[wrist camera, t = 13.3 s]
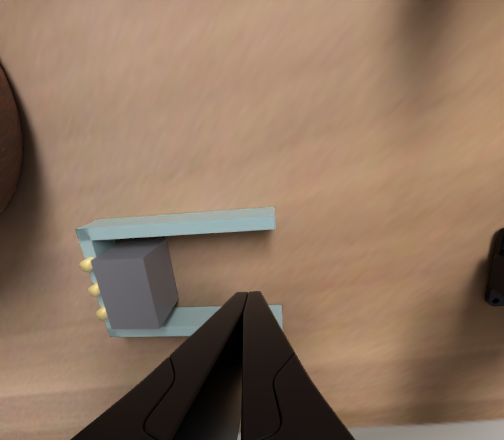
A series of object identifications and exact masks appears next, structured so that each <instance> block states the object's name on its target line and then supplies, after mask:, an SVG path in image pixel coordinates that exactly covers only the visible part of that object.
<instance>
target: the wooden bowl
mask: <svg viewBox="0 0 504 440" xmlns="http://www.w3.org/2000/svg"><path fill="white" fill-rule="evenodd" d="M21 164H22V133H21V126H20V120H19V115H18V111H17V107H16V104H15V101H14V97H13V94H12V92H11V89H10V87H9V84H8V81H7V79H6V77H5V75H4V73H3V70H2V68H1V66H0V213H1V212H2V211H3V210H4V208H5V207H6V206H7V204H8V203H9V201H10V199H11V198H12V196H13V194H14V191H15V189H16V186H17V183H18V180H19V176H20V171H21Z"/></svg>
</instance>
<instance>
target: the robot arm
mask: <svg viewBox="0 0 504 440" xmlns="http://www.w3.org/2000/svg"><path fill="white" fill-rule="evenodd" d="M493 299H494V300H493ZM485 301H486V302H487V303H488V304H490V305H491V306H504V228H503V229H501V230H500V231H499V233H498V236H497V241H496V246H495V251H494V255H493V260H492V265H491V270H490V275H489V279H488V284H487V289H486V294H485ZM240 419H241V440H355V439H354V437H353V436H352V435H351V433H350V432H349V431H348V429H347V428H346V427H345V425H344V424H343V423H342V421H341V420H340V419H339V417H338V416H337V415H336V413H335V412H334V411H333V410H332V408H331V407H330V406H329V404H328V403H327V402H326V400H325V399H324V397H323V396H322V395H321V393H320V392H319V390H318V389H317V388H316V386H315V385H314V383H313V382H312V380H311V379H310V377H309V376H308V374H307V372H306V371H305V369H304V367H303V366H302V364H301V362H300V360H299V359H298V357H297V355H296V354H295V352H294V350H293V348H292V346H291V345H290V343H289V341H288V339H287V338H286V336H285V334H284V332H283V330H282V329H281V327H280V325H279V323H278V322H277V320H276V318H275V316H274V314H273V313H272V311H271V309H270V307H269V306H268V304H267V302H266V300H265V298H264V297H263V295H262V293H261V292H260V291H254V292H249V293H248V292H237V293H235V294H234V295H233V296H232V297H231V298H230V299H229V300H228V301H227V302H226V303H225V304H224V305H223V306H222V307H221V308H220V309H219V310H217V311H216V312H215V313H214V314H213V315H212V316H211V317H210V318H209V319H208V320H207V321H206V322H205V323H204V324H203V325H202V326H201V327H199V328H198V329H197V330H196V331H195V332H194V333H193V334H192V335H191V336H190V337H189V338H188V339H187V340H186V341H185V342H184V343H182V344H181V345H180V346H179V347H178V348H177V349H176V350H175V351H174V352H173V353H172V354H171V355H170V358H169V357H168V358H166V359H165V360H164V361H163V362H162V363H161V364H160V365H159V366H158V367H157V368H156V369H155V370H154V371H152V372H151V373H150V374H149V375H148V376H147V377H146V378H145V379H144V380H142V381H141V382H140V383H139V384H138V385H137V386H135V387H134V388H133V389H132V390H131V391H129V392H128V393H127V394H126V395H125V396H123V397H122V398H121V399H120V400H119V401H117V402H116V403H115V404H114V405H112V406H111V407H110V408H109V409H108V410H106V411H105V412H104V413H103V414H101V415H100V416H99V417H98V418H96V419H95V420H94V421H93V422H91V423H90V424H89V425H88V426H87V427H85V428H84V429H83V430H82V431H80V432H79V433H78V434H77V435H75V436H74V437H73V438H72V439H70V440H237V437H238V431H239V425H240Z"/></svg>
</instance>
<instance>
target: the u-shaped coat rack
mask: <svg viewBox="0 0 504 440" xmlns="http://www.w3.org/2000/svg"><path fill="white" fill-rule="evenodd" d="M270 229H276V222H275V207H262V208H248V209H234V210H220V211H207V212H193V213H179V214H165V215H151V216H138V217H124V218H110V219H98V220H96V221H93V222H91V223H88V224H86V225H84V226H81V227H79V228H76V229H75V230H76V233H77V236H78V239H79V242H80V245H81V248H82V251H83V254H84V258H85V260H83V261H82V262H81V263H80V268H81V269H82V270H83V271H85V272H89V273H90V276H91V279H92V282H93V285H92V286H91V287H89V289H88V292H89V294H90V295H91V296H93V297H96V296H97V298H98V301H99V304H100V307H101V308H100V309H99V310H98V311H97V312H96V316H97V318H98V319H100V320H105V322H106V325H107V329H108V332H109V335H110V337H154V336H191V335H192V334H193V333H194V332H195V331H196V330H197V329H198V328H199V327H201V326H202V325H203V324H204V323H205V322H206V321H207V320H208V319H209V318H210V317H211V316H212V315H213V314H214V313H215V312H216V311H217V310H219V309H220V308H221V307H222V306H212V307H175V308H173V309H172V310H171V312H170V313H169V315H168V317H167V318H166V320H165V321H164V323H163V325H162V326H161V328H160V329H111V326H110V322H109V319H108V316H107V313H106V309H105V306H104V303H103V300H102V296H101V293H100V290H99V287H98V283H97V280H96V277H95V274H94V271H93V267H92V264H91V260H92V259H94V258H95V257H97V256H99V255H100V254H102V253H103V252H105V251H107V250H108V249H110V248H111V247H113V246H115V245H116V241H115V239H125V238H141V237H157V236H173V235H189V234H205V233H221V232H238V231H254V230H270ZM268 306H269V307H270V309H271V311H272V313H273V314H274V316H275V318H276V320H277V322H278V323H279V325H280V327H281V329H282V330H283V320H282V305H268Z"/></svg>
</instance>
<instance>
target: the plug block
mask: <svg viewBox="0 0 504 440" xmlns="http://www.w3.org/2000/svg"><path fill="white" fill-rule="evenodd" d="M91 264H92V267H93V271H94V274H95V277H96V280H97V283H98V287H99V290H100V293H101V296H102V300H103V303H104V306H105V309H106V313H107V316H108V319H109V322H110V326H111V329H160V328H161V326H162V325H163V323H164V321H165V320H166V318H167V317H168V315H169V313H170V312H171V310H172V309H173V307H174V305H175V304H176V302H177V301H178V299H179V298H178V293H177V288H176V283H175V278H174V273H173V268H172V263H171V258H170V253H169V248H168V243H167V239H166V238H160V239H141V240H123V241H121V242H119V243H118V244H116V245H115V246H113V247H111V248H110V249H108V250H107V251H105V252H103V253H102V254H100V255H99V256H97V257H95V258H94V259H92V260H91Z"/></svg>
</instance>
